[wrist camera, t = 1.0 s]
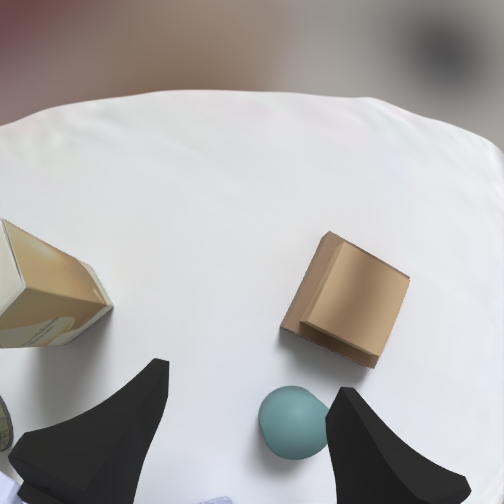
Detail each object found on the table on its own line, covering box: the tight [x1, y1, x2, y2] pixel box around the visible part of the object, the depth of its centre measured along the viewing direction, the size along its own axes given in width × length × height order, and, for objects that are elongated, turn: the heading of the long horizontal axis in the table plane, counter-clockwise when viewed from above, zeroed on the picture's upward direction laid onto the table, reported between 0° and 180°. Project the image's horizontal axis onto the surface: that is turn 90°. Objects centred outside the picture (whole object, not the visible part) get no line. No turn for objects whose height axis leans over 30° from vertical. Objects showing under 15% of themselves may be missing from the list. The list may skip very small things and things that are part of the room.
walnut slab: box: [280, 231, 410, 369], centre depth 23 cm, size 8×8×2 cm
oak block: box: [300, 241, 410, 356], centre depth 20 cm, size 6×6×2 cm
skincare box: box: [0, 218, 114, 348], centre depth 16 cm, size 6×4×12 cm
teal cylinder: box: [259, 386, 329, 460], centre depth 19 cm, size 5×5×4 cm
